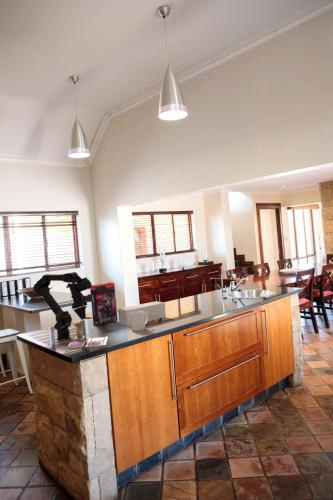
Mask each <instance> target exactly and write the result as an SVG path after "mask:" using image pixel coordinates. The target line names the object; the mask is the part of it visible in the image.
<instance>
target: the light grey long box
mask: <svg viewBox="0 0 333 500" xmlns="http://www.w3.org/2000/svg"><path fill="white" fill-rule="evenodd" d="M133 311H144V313H148V321H149V322H153V321H157V320H161V319H160V318H162V319H165V318H164V317H166V316H167V314H166V303H165V302H162V301H157V300H156V301H152V302H151V301H150V302H147V303H146V302H145V303H141V304H140V303H139V304H136V305H131V306H130V305H129V306H125V307H120V308H119V307H118V308H117V318H118V325H121V326H123V327H131V322H130V312H133ZM144 316H145V322H146V314H144ZM156 319H157V320H156ZM152 320H153V321H152Z"/></svg>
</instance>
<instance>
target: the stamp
mask: <svg viewBox="0 0 333 500" xmlns="http://www.w3.org/2000/svg"><path fill="white" fill-rule="evenodd" d="M83 325H84V323H83V321H77V322H75V323H74V326H75V328H76V336H75V337H74V341H86V335H83Z"/></svg>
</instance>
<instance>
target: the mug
mask: <svg viewBox="0 0 333 500" xmlns="http://www.w3.org/2000/svg"><path fill="white" fill-rule="evenodd" d="M144 314H146V322H145V316H144ZM130 322H131V326H130V329H131V331H132V332H135V333H136V332H143V331H145V329H146V324H147V323H149V322H148V313H144V311H133V312H130Z"/></svg>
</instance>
